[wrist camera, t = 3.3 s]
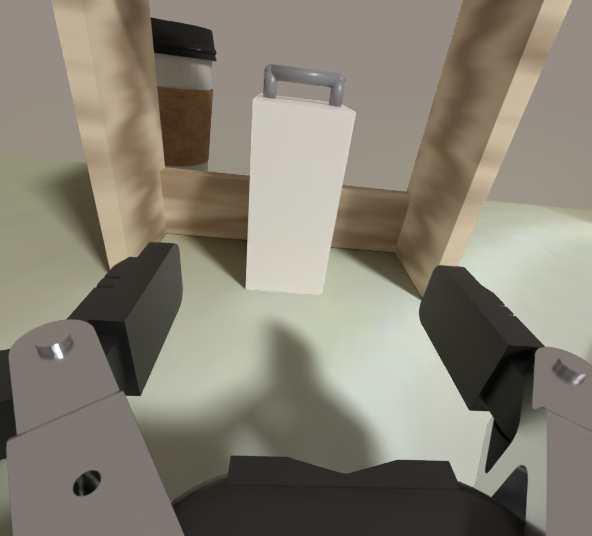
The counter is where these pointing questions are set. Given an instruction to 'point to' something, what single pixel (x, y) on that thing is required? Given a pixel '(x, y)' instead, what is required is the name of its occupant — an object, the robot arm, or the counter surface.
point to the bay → (353, 200)
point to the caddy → (295, 181)
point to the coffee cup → (184, 91)
